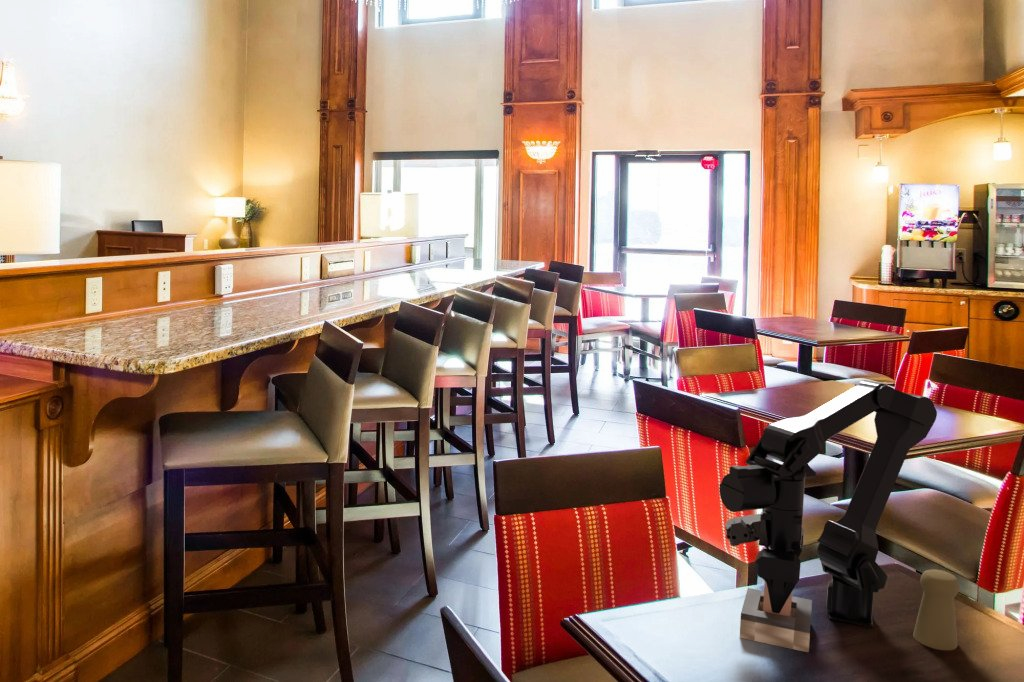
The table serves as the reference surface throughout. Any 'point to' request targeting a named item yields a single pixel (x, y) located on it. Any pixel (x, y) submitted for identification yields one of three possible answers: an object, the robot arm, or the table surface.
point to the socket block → (776, 622)
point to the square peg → (767, 606)
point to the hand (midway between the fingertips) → (777, 600)
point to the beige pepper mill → (937, 611)
